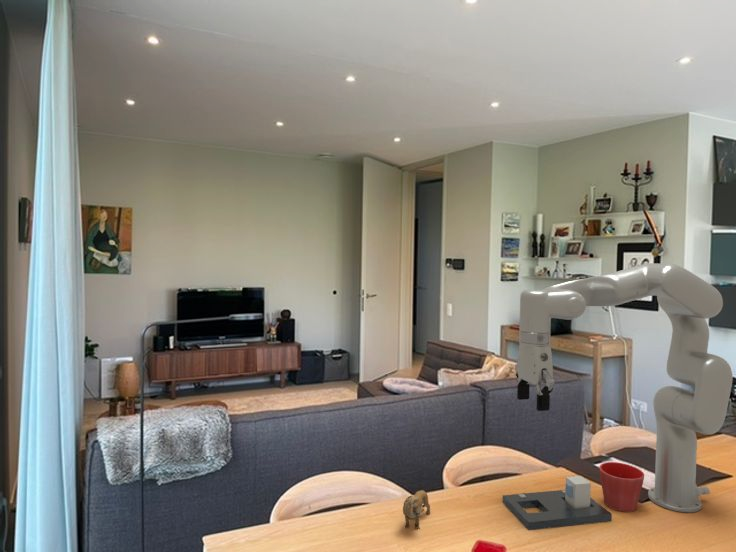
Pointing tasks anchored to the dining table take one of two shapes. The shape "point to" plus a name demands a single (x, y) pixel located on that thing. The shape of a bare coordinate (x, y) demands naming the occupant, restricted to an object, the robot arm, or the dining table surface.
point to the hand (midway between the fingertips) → (532, 404)
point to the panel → (553, 510)
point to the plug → (577, 492)
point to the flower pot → (621, 485)
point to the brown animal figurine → (415, 507)
